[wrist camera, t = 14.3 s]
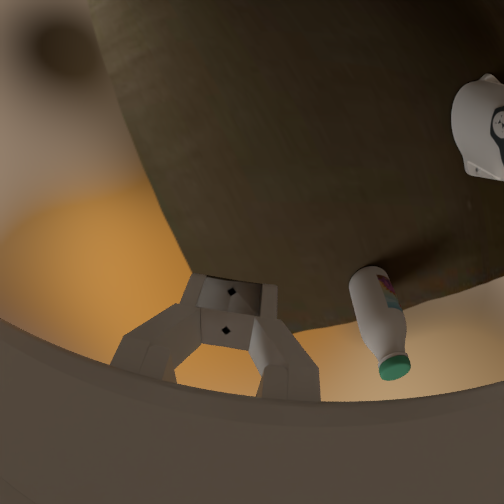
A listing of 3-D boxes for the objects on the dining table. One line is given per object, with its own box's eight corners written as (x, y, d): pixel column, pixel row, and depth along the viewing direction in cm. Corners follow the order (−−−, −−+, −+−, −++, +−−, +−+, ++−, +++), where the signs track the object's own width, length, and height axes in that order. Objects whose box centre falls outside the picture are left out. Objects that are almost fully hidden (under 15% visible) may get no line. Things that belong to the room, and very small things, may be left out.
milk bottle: (351, 301, 51) (370, 391, 34) (345, 270, 47) (368, 367, 30) (388, 290, 49) (418, 377, 32) (385, 259, 45) (424, 350, 28)
